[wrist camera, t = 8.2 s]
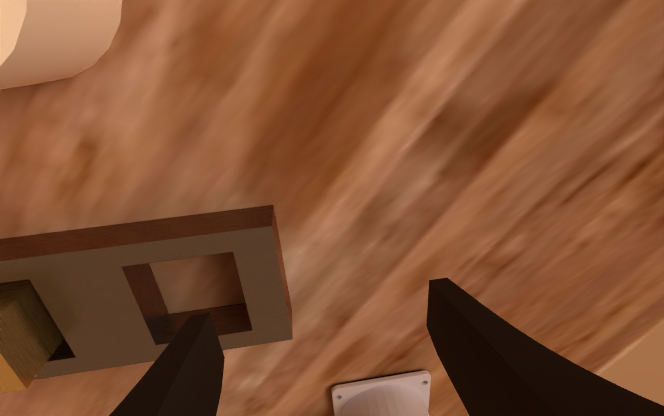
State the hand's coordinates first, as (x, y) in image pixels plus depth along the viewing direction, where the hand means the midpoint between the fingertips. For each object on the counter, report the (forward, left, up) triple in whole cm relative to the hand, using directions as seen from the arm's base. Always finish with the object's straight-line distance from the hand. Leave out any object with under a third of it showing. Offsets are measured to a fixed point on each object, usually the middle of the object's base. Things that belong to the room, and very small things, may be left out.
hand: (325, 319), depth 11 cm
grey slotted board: (-4, +13, -9) cm, 17 cm away
